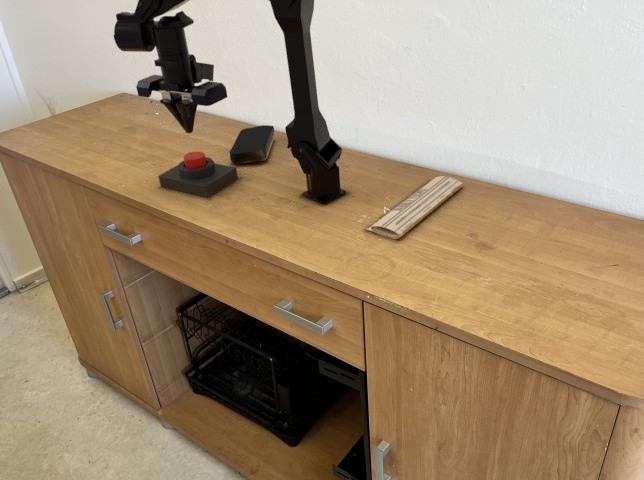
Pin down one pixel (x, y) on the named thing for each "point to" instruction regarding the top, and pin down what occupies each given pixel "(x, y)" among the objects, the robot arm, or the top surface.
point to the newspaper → (416, 207)
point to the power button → (194, 160)
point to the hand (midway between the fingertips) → (189, 132)
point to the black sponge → (252, 144)
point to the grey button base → (199, 178)
